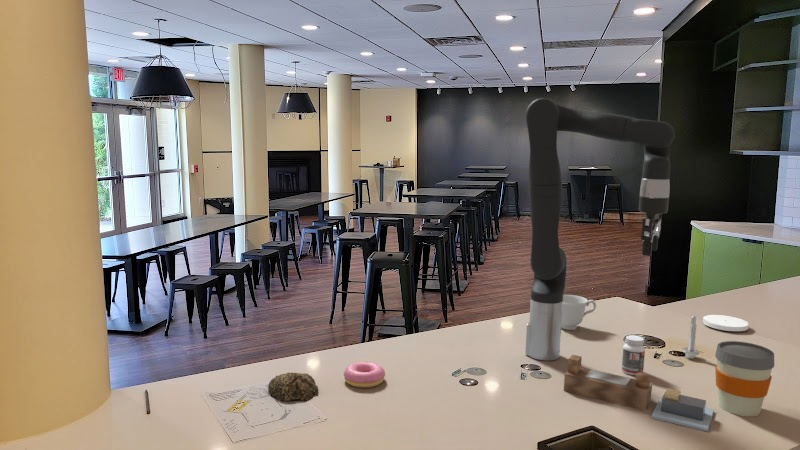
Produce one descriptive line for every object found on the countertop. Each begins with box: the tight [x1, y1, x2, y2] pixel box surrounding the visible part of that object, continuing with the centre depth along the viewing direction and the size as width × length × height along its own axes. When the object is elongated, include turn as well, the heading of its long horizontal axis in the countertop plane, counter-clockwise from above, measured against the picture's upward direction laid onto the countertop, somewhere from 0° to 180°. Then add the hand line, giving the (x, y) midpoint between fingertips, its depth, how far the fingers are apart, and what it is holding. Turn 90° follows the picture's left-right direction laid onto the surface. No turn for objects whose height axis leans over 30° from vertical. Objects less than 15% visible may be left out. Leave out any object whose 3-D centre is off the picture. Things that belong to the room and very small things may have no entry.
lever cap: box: [661, 388, 707, 421], centre depth 147 cm, size 9×5×4 cm, turn 58°
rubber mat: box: [650, 397, 715, 432], centre depth 147 cm, size 12×12×1 cm
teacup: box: [561, 294, 597, 331], centre depth 211 cm, size 12×15×10 cm
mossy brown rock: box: [267, 372, 319, 402], centre depth 156 cm, size 13×12×5 cm
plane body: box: [563, 354, 653, 411], centre depth 157 cm, size 20×7×8 cm, turn 58°
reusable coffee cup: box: [714, 340, 775, 417], centre depth 150 cm, size 12×13×15 cm
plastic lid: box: [702, 314, 749, 332], centre depth 216 cm, size 14×14×2 cm
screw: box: [681, 315, 701, 360], centre depth 184 cm, size 13×5×5 cm
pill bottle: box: [621, 335, 646, 376], centre depth 172 cm, size 6×6×10 cm
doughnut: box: [343, 361, 386, 389], centre depth 163 cm, size 11×11×4 cm
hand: (649, 252), depth 173 cm, fingers open, 8 cm apart
